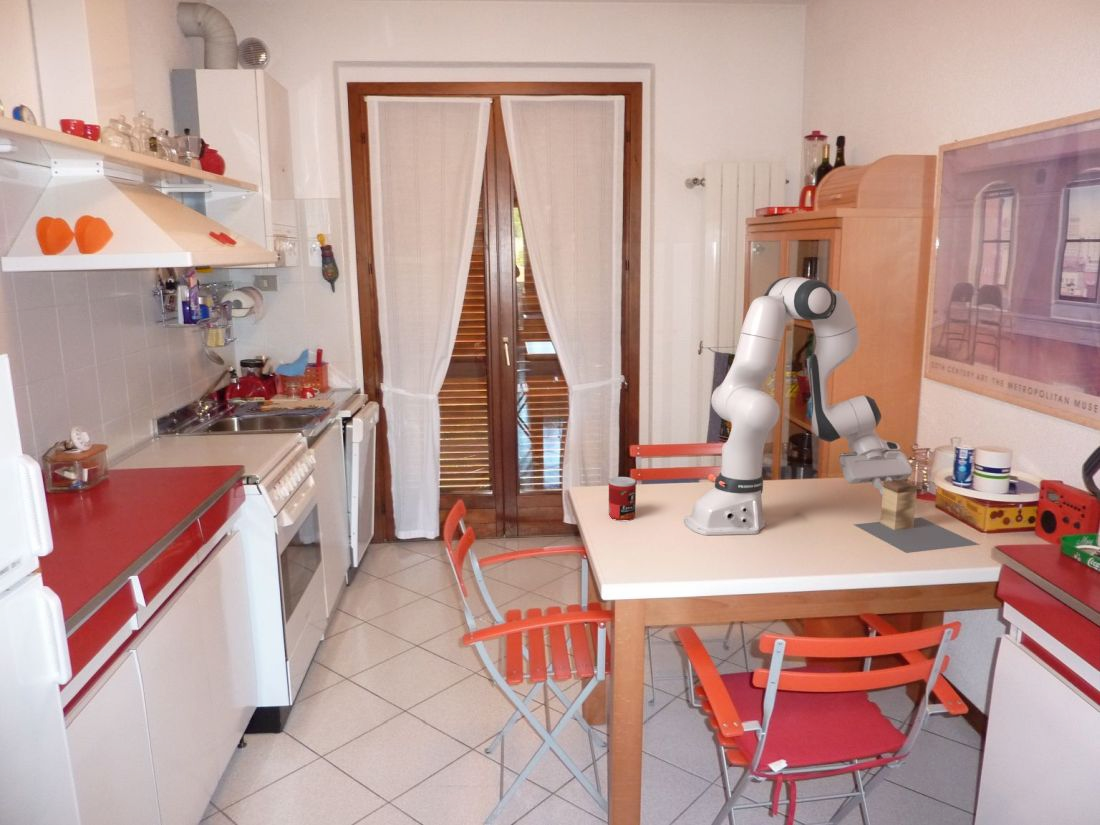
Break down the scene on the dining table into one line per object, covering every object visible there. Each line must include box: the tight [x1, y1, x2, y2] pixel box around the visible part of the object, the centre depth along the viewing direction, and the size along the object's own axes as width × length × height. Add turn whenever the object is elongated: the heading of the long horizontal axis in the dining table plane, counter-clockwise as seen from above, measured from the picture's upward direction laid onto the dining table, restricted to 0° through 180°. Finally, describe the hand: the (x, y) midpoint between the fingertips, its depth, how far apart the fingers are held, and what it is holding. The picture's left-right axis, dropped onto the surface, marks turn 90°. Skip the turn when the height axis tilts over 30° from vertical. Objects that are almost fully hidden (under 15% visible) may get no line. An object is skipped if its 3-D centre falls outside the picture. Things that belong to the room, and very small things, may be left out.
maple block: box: [879, 479, 918, 530], centre depth 220 cm, size 6×6×12 cm
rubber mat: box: [852, 517, 980, 554], centre depth 215 cm, size 22×22×1 cm
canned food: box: [608, 476, 637, 521], centre depth 231 cm, size 8×8×11 cm
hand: (887, 493), depth 224 cm, fingers closed
